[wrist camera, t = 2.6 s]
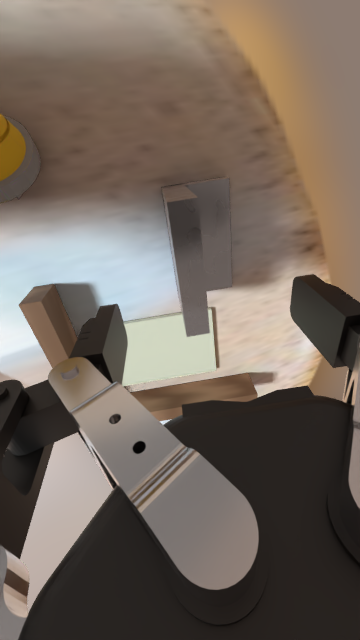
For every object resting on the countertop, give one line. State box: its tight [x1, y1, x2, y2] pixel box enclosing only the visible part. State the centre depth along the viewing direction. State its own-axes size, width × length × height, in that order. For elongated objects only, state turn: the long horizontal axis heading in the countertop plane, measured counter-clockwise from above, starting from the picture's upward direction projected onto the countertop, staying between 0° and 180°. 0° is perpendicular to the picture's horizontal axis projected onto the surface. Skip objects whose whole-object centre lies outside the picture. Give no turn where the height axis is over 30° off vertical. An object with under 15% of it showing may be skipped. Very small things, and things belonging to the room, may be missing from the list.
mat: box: [122, 307, 216, 386], centre depth 26 cm, size 11×8×1 cm
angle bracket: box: [161, 177, 232, 337], centre depth 18 cm, size 8×4×7 cm, turn 8°
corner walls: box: [19, 284, 257, 421], centre depth 24 cm, size 18×15×3 cm
